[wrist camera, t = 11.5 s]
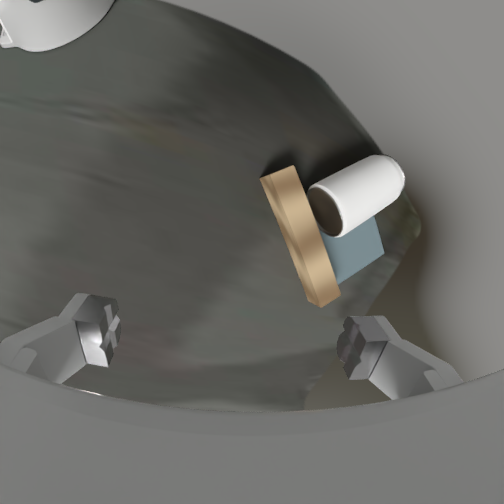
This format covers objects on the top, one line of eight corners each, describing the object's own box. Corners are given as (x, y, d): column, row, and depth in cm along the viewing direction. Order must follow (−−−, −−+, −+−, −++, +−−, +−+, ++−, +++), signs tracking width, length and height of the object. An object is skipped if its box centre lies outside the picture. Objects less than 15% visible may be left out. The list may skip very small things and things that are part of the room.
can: (323, 177, 27) (391, 143, 30) (296, 194, 33) (362, 160, 37) (353, 235, 28) (416, 191, 31) (322, 242, 34) (384, 201, 37)
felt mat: (298, 199, 33) (299, 199, 33) (357, 172, 36) (359, 172, 36) (330, 287, 36) (332, 288, 36) (382, 252, 39) (384, 253, 38)
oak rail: (259, 178, 32) (269, 174, 29) (281, 169, 32) (293, 165, 30) (308, 301, 36) (321, 307, 33) (327, 289, 36) (340, 294, 33)
